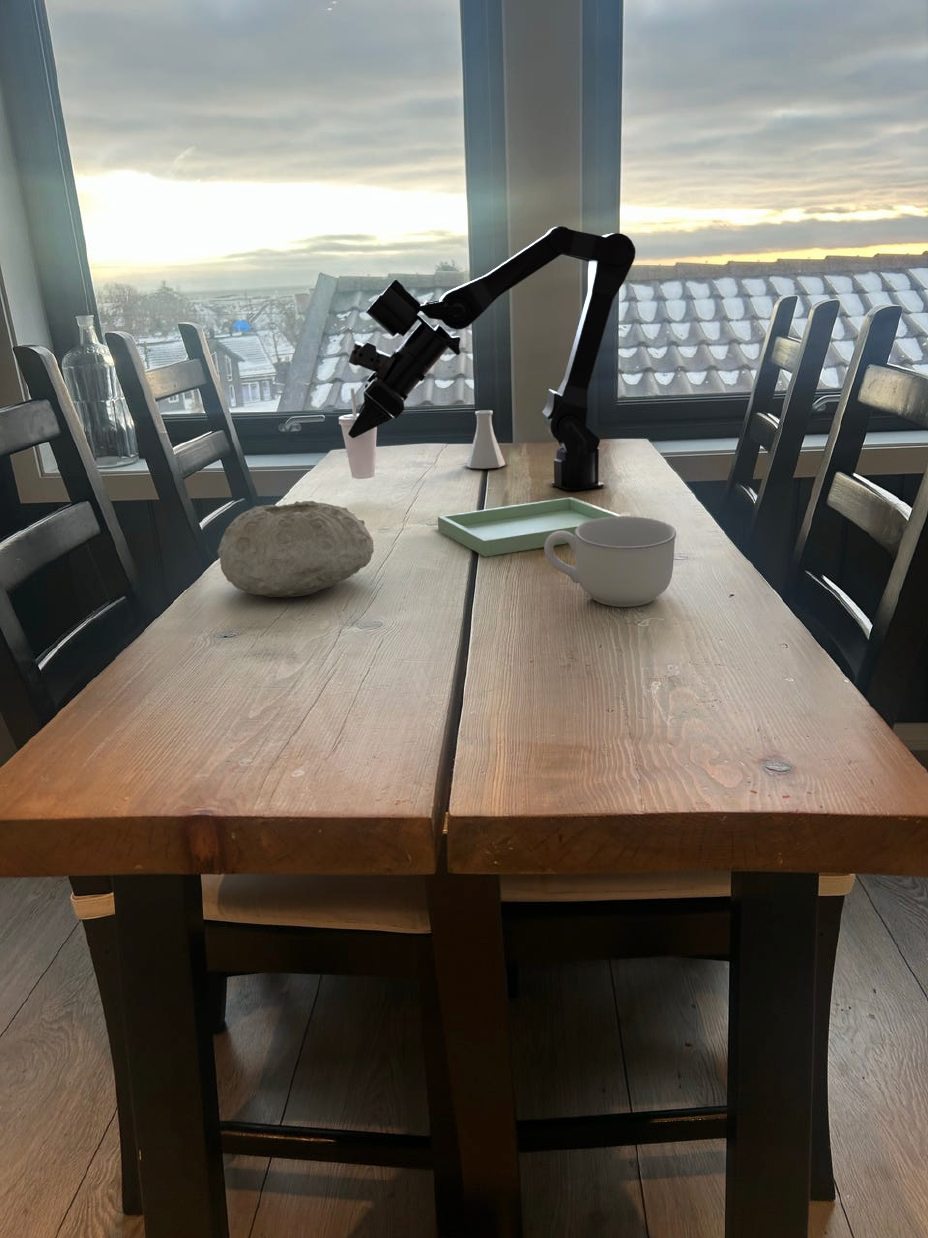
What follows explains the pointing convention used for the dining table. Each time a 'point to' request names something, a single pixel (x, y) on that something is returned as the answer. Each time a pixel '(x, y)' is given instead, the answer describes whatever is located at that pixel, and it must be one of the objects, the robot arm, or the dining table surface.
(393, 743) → the dining table surface
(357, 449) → the smoothie
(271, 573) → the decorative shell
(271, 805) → the dining table surface
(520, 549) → the tray
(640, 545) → the teacup
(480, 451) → the flask
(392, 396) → the robot arm
